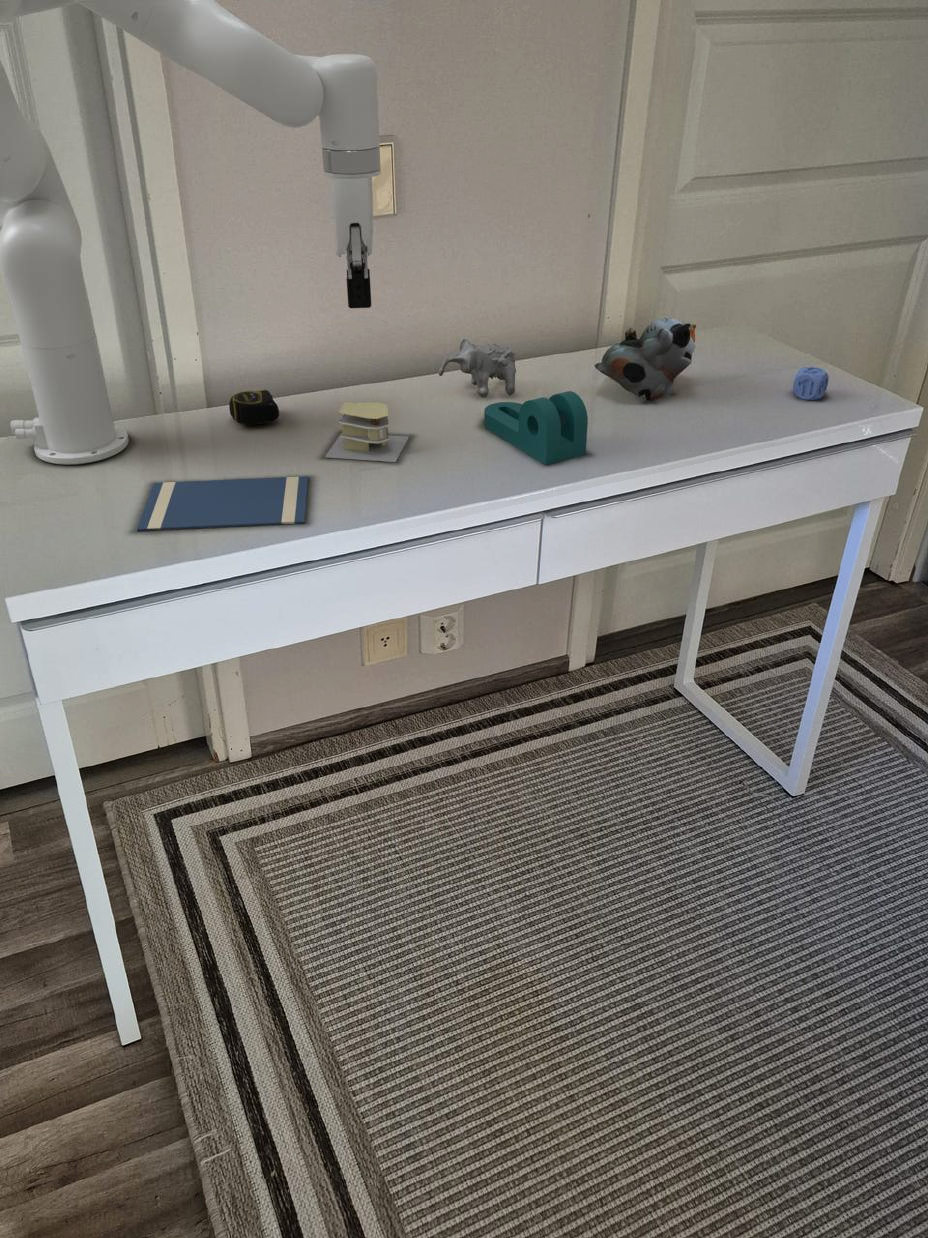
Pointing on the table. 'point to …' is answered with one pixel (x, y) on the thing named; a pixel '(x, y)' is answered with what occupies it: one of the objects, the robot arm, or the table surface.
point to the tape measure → (253, 407)
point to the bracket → (542, 426)
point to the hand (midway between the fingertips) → (359, 301)
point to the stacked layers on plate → (366, 434)
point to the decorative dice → (810, 383)
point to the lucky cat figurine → (650, 358)
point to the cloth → (225, 503)
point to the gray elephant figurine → (485, 365)
